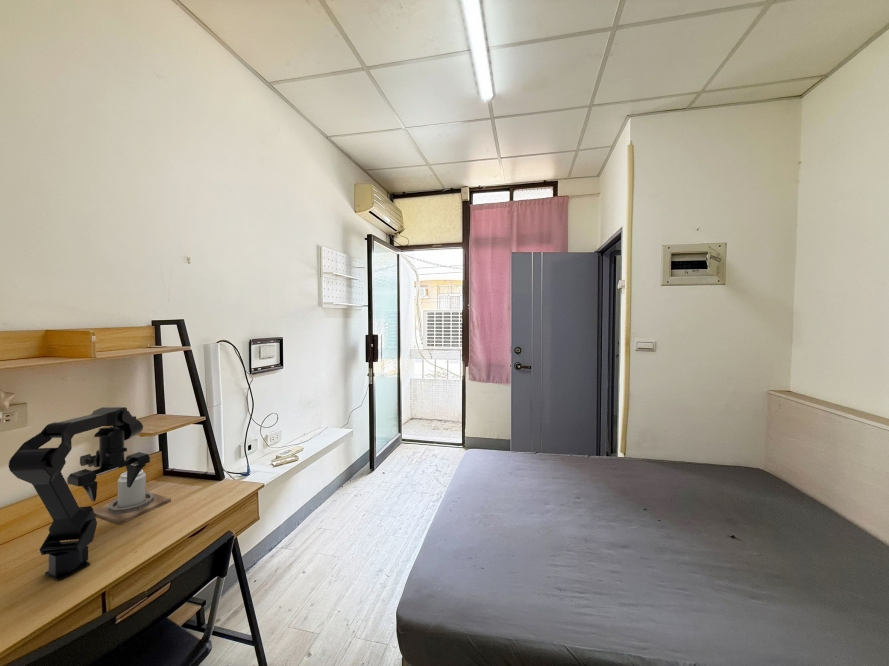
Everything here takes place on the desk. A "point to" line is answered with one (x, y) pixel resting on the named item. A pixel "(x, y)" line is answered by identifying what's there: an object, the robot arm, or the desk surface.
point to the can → (131, 490)
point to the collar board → (132, 514)
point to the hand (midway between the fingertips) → (111, 493)
